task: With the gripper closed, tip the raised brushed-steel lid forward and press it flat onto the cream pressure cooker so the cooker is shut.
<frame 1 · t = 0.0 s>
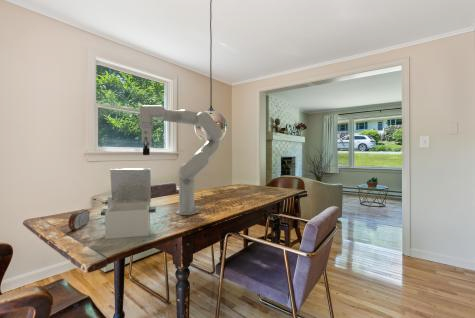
hand: (146, 154, 147), 37 cm above the table, tool pointing down, fingers open, 9 cm apart
cooker: (129, 231, 120), on the table
lid: (131, 185, 127), point 21 cm above the table, hinge at 75.0°
supplement box: (117, 217, 144), on the table
tin: (79, 227, 125), on the table
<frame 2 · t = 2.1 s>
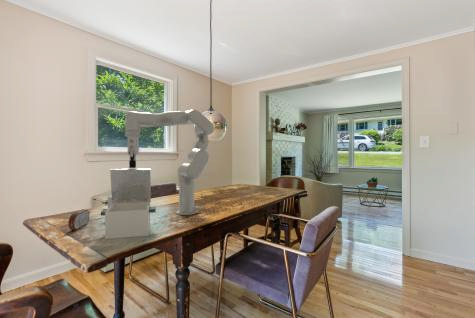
hand: (132, 167, 135), 30 cm above the table, tool pointing down, fingers closed
nothing on the table moved.
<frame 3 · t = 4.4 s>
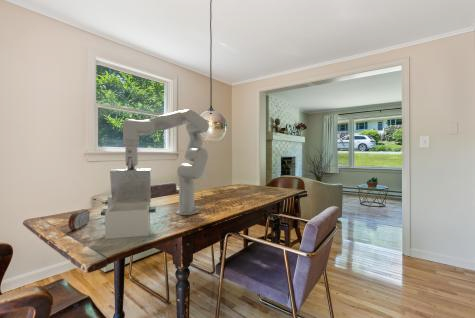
hand: (131, 179, 126), 24 cm above the table, tool pointing down, fingers closed
lid: (131, 185, 126), point 21 cm above the table, hinge at 72.0°, touching gripper
everything else where it was.
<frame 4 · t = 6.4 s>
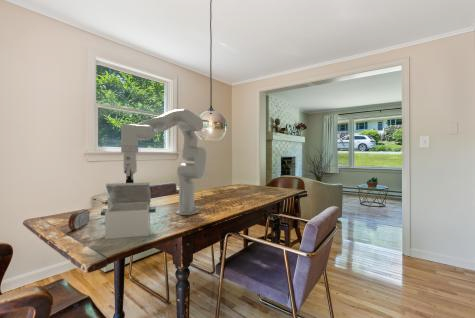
hand: (129, 187, 119), 21 cm above the table, tool pointing down, fingers closed
lid: (130, 192, 122), point 19 cm above the table, hinge at 37.3°, touching gripper
everything else where it was.
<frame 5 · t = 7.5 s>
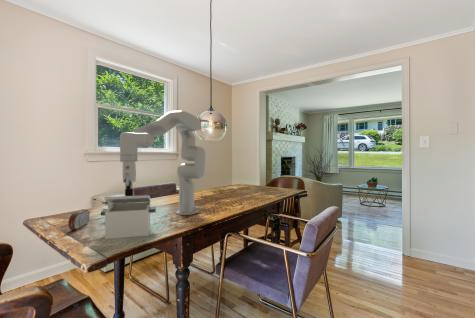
hand: (129, 196, 116), 17 cm above the table, tool pointing down, fingers closed
lid: (129, 197, 120), point 16 cm above the table, hinge at 17.3°, touching gripper
everything else where it was.
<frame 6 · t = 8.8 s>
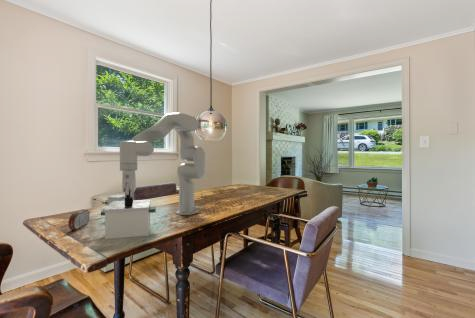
hand: (128, 205, 115), 13 cm above the table, tool pointing down, fingers closed
lid: (129, 203, 119), point 13 cm above the table, hinge at 0.0°, touching gripper
everything else where it was.
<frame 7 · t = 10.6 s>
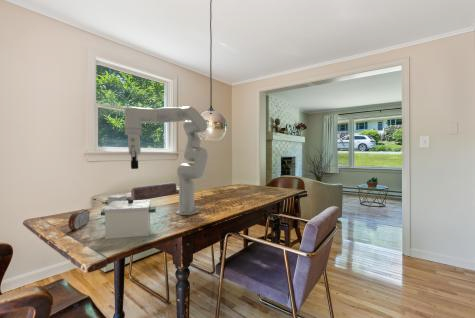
hand: (134, 168, 123), 30 cm above the table, tool pointing down, fingers closed
lid: (129, 203, 119), point 13 cm above the table, hinge at 0.0°
everything else where it was.
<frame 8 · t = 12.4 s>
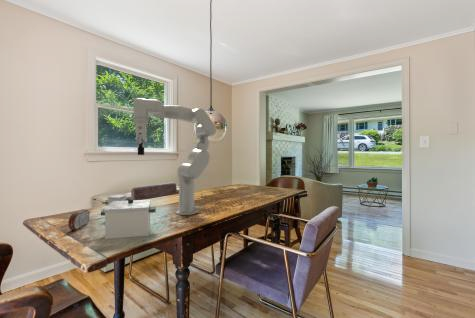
hand: (141, 154, 135), 37 cm above the table, tool pointing down, fingers closed
nothing on the table moved.
at the end: lid at +0° (first picture: +75°) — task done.
